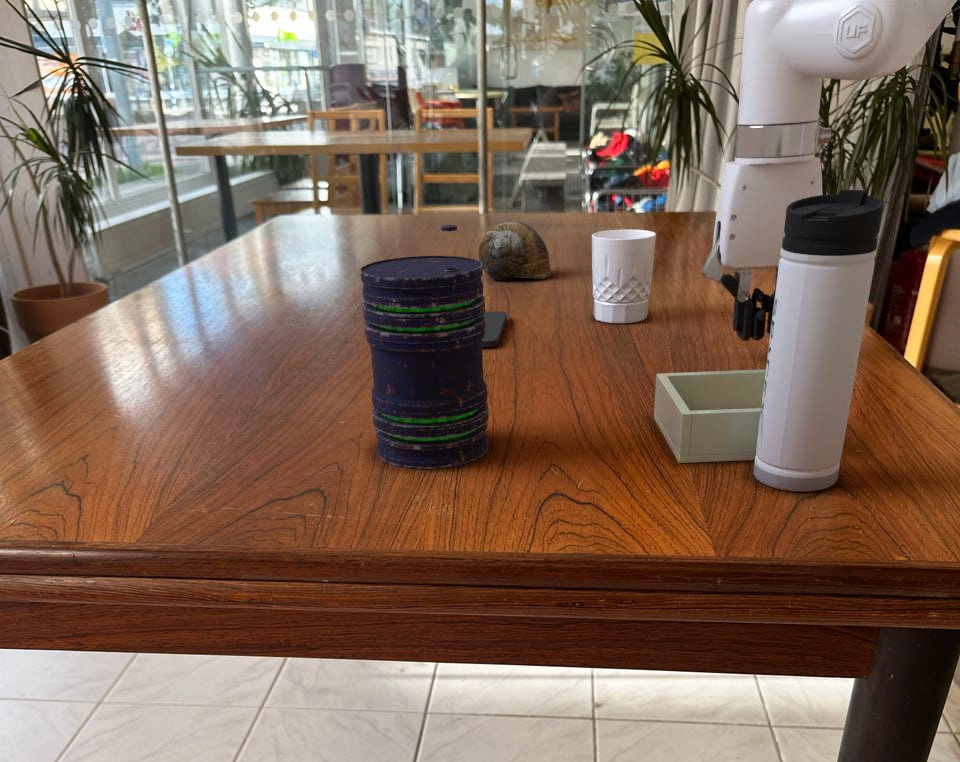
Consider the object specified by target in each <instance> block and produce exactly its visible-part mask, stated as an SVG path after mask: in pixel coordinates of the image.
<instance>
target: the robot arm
mask: <svg viewBox="0 0 960 762" xmlns="http://www.w3.org/2000/svg"><path fill="white" fill-rule="evenodd" d="M957 1H958V0H752V1H751V2H750V3H749V5H748V7H747V9H746V11H745V16H744V24H743V39H742V51H741V66H740V67H741V68H740V80H739V96H738V111H737V125H736V135H735V136H736V137H735V151H734V152H735V153H734V156H735V157H734V161H727V162H726V163H725V166H724V170H723V173H722V179H721V182H720V188H719V194H718V199H717V206H716V214H715V221H714V222H715V223H714V230H713V237H712V248H711V251H710V253H709V255H708V257H707V259H706V261H705V263H704V265H703V267H702V269H701V275H703V276H704V277H705V278H706V279H709V280H711V281H713V282H715V283H718V284H719V285H721V286H723V287H724V289H726V290H727V292H728V293H729V294H730V295H731V296H732V297H733V298H734V301H733V302H734V303H733V304H734V305H733V315H732V330H733V332H736V336H737V337H738V338H740V339H741V341H743V342H746V341H749V340H751V339H752V338H751V326H752V314H753V302H751V301H750V298H751V294H750V291H751V284H752V279H753V277H752V276H753V270H755V271H756V270H768V269H769V270H771V269H775V287H774V288H775V289H774V290H773V294H771V295H770V296H771V297H772V298H773V299H774V300H775V292H776V284H777V276H778V268H779V260H780V259H781V258H782V256H781V254H780V251H781V247H782V242H783V238H784V237H785V233H784V226H785V218H786V210H787V207H788V205H789V204H791V203H792V202H795V201H797V200H800V199H804V198H808V197H813V196H819V195H823V174H822V173H823V171H822V162H821V158H820V157H817V156H815V153H817V152H818V147H819V146H821V145H822V144H828V143H830V142H831V139H832V129H831V127H823V126H821V121H819V116H820V115H819V114H820V106H821V98H822V90H823V89H822V88H823V79H832V80H842V81H851V82H852V81H854V82H856V81H857V82H858V81H866V80H872V79H877V78H882V77H887V76H890V75H892V74H895V73H896V72H898V71H899V70H901V69H903V68H904V67H906V65H908V64H909V63H910V62H911V61H912V60H913V59H914V58H915V57H916V56H917V55H918V54H919V52H920V51H921V49H922V48H923V47H924V46H925V45H926V43H927V42H928V41H929V39H931V36H932V35H933V34H934V33H935V31H936V30H937V29H938V27H939V26H940V24H941V23H942V22H943V20H944V19H945V18H946V16H947V15H948V14H949V12H950V11H951V9H953V7H954V5H955V4H956V2H957ZM721 265H722V267H723V268H725V269H727V270H731V271H733V273H732V274H733V275H732V274H730V273H729V272H727V271H725V270H722V268H721ZM772 317H773V311H771V312H767V320H766V321H767V323H766V333H767V334H768V335H770V333H771V325H772Z"/></svg>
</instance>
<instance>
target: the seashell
mask: <svg viewBox="0 0 960 762" xmlns="http://www.w3.org/2000/svg"><path fill="white" fill-rule="evenodd" d="M478 260H479V261H480V262H482V265H483V273H485V274H486V275H487V276H488V277H490V278H491V279H494V280H498V281H507V280H511V279H516V278H519V279H521V278H522V279H523V278H524V279H537V280H542V279H543V280H544V279H547V278H549V277H550V276H552V275H553V272H552V269H551V264H550V256H549V250H548V248H547V246H546V243H545V241H544V240H543V239H542V237H541V236H540V234H539V233H538V232H537V231H536V230H535V229H534V228H533V227H532V226H530V225H529V224H527V223H524V222H521V221H519V220H511V221H510V220H509V221H503V222H499V223H497V224H496V225H494V226H492V227H490V228H489V229H488V230H487V231H486V232H485V233H484V235H483V236H482V238H481V240H480V242H479V245H478Z"/></svg>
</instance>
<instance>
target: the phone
mask: <svg viewBox="0 0 960 762" xmlns="http://www.w3.org/2000/svg"><path fill="white" fill-rule="evenodd" d="M484 318H485V325H486V328H485V336H484V338H483V339H482V348H492V347H493V348H494V347H496V346H498V345H499V343H500V340H501V337H502V333H503V332H504V329H505V326H506V323H507V319H508V313H507V312H506V311H500V310H499V311H498V310H497V311H496V310H494V311H493V310H490V311H488V310H487V311H486V310H485V314H484Z"/></svg>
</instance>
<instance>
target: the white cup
mask: <svg viewBox="0 0 960 762" xmlns="http://www.w3.org/2000/svg"><path fill="white" fill-rule="evenodd" d="M656 241H657V233H656V232H655V231H651V230H645V229H609V230H608V229H607V230H601V231H596V232H594V233H592V234H591V274H592V277H591V278H592V297H593V317H594V319H595V320H596V321H599V322H602V323H608V324H632V323H633V324H634V323H638V322H642V321H645V320H646V319H647V318H648V313H649V301H650V299H649V297H650V294H651V289H652V279H653V273H654V263H655V252H656Z"/></svg>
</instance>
